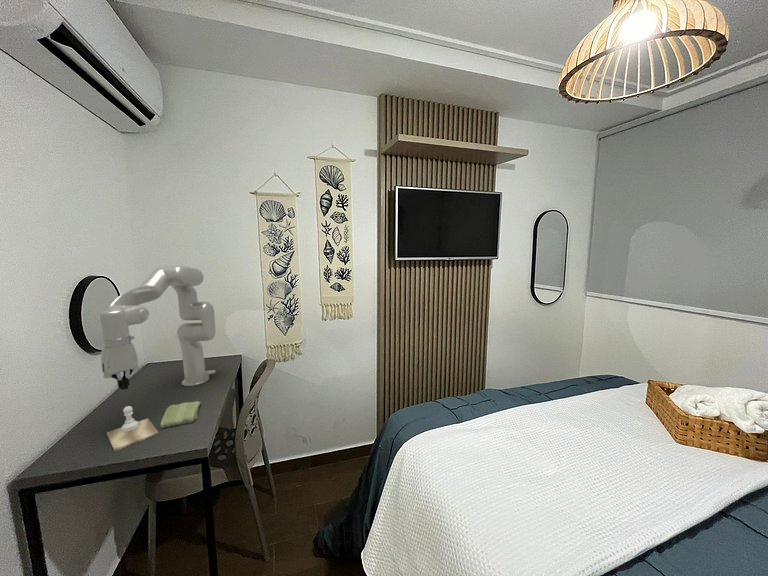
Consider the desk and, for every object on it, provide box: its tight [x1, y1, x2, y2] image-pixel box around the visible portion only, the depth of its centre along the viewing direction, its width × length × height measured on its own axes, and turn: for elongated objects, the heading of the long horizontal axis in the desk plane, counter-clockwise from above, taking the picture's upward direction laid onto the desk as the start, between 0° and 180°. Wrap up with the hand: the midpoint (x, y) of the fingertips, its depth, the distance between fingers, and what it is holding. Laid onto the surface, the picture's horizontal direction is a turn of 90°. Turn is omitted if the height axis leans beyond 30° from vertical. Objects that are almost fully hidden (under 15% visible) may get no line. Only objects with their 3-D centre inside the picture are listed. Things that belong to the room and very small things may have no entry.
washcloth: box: [160, 401, 201, 429], centre depth 133 cm, size 13×18×3 cm
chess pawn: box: [121, 405, 139, 432], centre depth 122 cm, size 5×5×9 cm
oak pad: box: [106, 417, 160, 452], centre depth 120 cm, size 13×16×1 cm
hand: (124, 388), depth 121 cm, fingers closed
